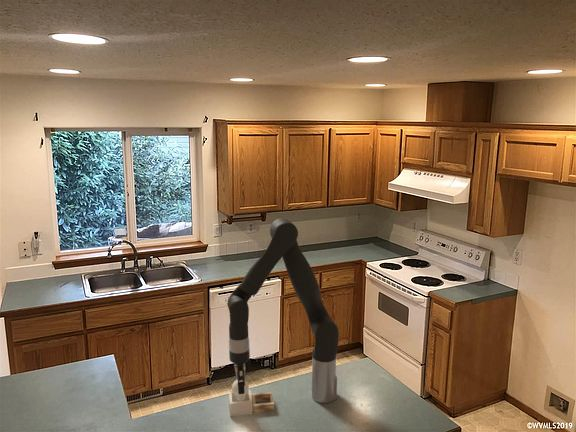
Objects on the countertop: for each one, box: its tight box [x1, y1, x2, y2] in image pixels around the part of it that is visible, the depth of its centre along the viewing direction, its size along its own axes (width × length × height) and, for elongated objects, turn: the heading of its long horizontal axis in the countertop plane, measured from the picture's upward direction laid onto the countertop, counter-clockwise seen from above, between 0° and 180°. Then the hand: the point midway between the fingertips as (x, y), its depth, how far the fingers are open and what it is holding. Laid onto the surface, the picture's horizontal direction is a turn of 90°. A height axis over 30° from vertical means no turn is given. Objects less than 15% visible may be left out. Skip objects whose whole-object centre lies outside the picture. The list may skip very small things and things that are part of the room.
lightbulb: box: [231, 379, 250, 401], centre depth 173 cm, size 6×6×11 cm
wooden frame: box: [251, 391, 276, 414], centre depth 176 cm, size 8×8×3 cm
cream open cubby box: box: [228, 388, 254, 417], centre depth 174 cm, size 8×8×5 cm
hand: (240, 387), depth 173 cm, fingers open, 8 cm apart
